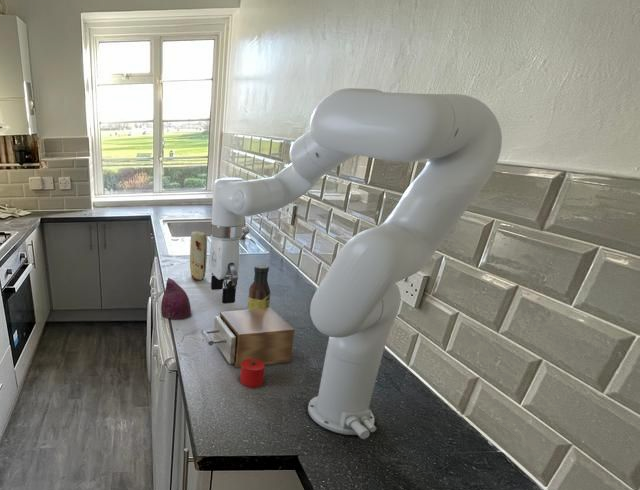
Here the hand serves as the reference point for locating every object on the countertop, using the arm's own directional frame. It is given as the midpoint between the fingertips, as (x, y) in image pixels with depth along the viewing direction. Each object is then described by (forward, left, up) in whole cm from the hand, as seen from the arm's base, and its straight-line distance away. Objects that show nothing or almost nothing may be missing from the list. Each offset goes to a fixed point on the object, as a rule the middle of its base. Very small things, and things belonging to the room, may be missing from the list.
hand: (222, 295), depth 106 cm
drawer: (-2, -4, -16) cm, 17 cm away
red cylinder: (-16, -3, -17) cm, 23 cm away
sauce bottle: (+12, -16, -17) cm, 26 cm away
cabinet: (-2, -9, -17) cm, 19 cm away
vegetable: (+28, +6, -17) cm, 34 cm away
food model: (+62, -11, -17) cm, 66 cm away
